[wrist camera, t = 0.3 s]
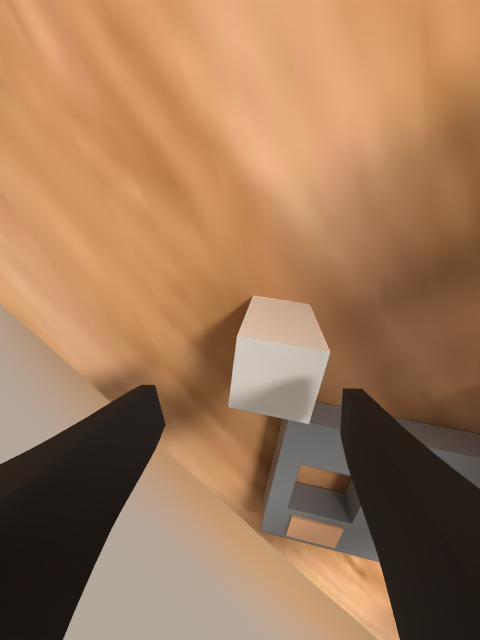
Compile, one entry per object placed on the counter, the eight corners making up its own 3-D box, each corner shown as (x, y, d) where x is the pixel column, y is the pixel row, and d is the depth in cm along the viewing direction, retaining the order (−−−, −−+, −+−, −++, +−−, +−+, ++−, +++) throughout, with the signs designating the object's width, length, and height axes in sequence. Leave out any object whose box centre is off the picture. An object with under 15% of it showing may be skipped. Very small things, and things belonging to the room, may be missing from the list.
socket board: (529, 443, 17) (571, 479, 15) (445, 548, 22) (466, 587, 20) (287, 396, 19) (289, 420, 17) (261, 502, 24) (260, 533, 22)
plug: (309, 304, 16) (330, 351, 10) (297, 353, 18) (308, 423, 11) (253, 295, 17) (237, 335, 10) (246, 344, 18) (228, 407, 12)
